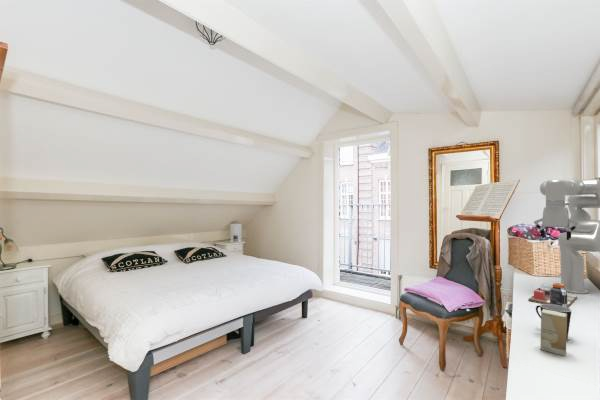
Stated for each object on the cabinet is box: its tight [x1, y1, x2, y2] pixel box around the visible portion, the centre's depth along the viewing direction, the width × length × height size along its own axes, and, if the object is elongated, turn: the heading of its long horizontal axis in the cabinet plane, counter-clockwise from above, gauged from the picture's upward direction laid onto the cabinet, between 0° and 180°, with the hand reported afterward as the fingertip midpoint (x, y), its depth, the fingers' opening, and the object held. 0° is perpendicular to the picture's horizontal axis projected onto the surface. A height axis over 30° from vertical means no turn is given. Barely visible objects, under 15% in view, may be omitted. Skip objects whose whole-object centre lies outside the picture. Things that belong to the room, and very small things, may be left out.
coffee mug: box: [535, 303, 572, 341], centre depth 112 cm, size 12×9×10 cm
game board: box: [528, 286, 578, 309], centre depth 153 cm, size 24×14×3 cm, turn 131°
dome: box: [539, 282, 552, 291], centre depth 160 cm, size 5×5×4 cm
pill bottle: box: [550, 282, 568, 307], centre depth 139 cm, size 6×6×11 cm
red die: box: [533, 289, 545, 300], centre depth 151 cm, size 4×4×4 cm
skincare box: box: [539, 309, 568, 357], centre depth 99 cm, size 6×4×12 cm
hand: (555, 238), depth 155 cm, fingers open, 9 cm apart
